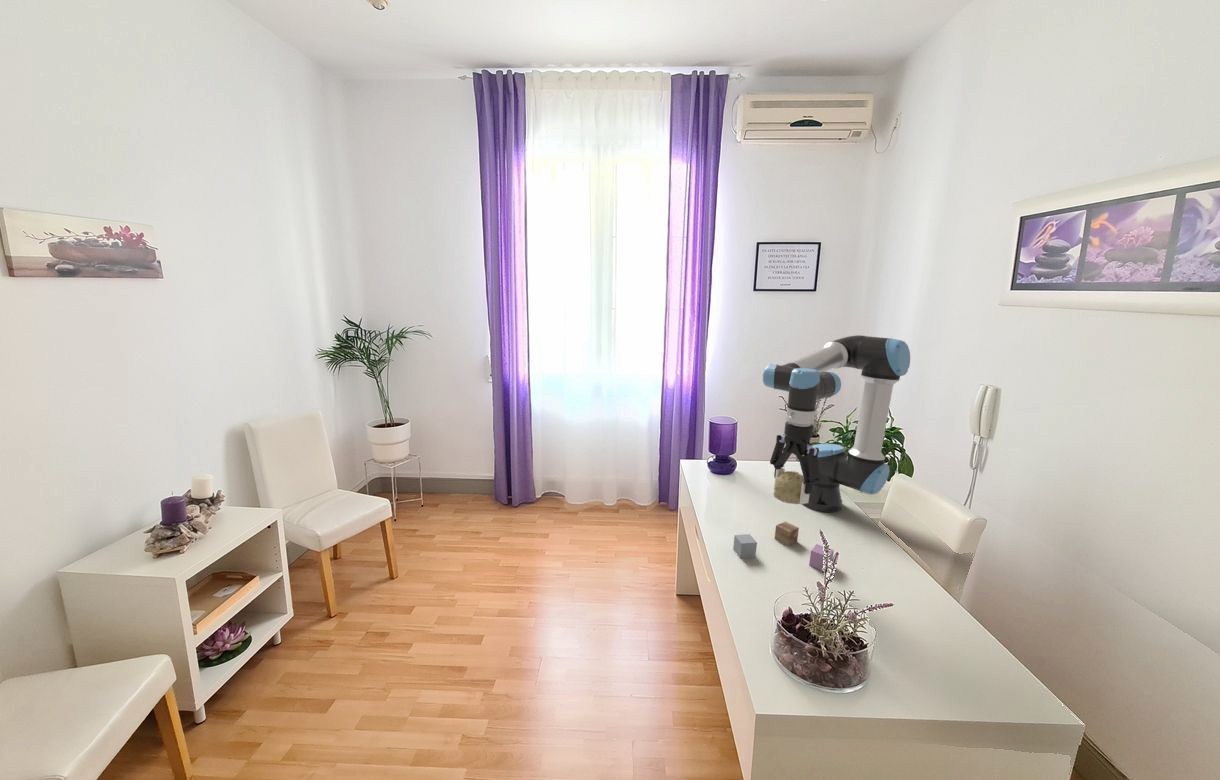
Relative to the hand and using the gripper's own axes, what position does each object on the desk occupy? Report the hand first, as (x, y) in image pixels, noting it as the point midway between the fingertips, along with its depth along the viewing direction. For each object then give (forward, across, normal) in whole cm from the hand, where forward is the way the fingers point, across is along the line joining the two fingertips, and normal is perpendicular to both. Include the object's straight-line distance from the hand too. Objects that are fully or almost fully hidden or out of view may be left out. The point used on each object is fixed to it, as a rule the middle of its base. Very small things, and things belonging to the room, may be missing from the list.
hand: (790, 495), depth 145 cm
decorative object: (+1, 0, 0) cm, 1 cm away
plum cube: (+21, +7, +8) cm, 23 cm away
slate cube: (+21, -7, -9) cm, 24 cm away
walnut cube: (+21, -8, +9) cm, 24 cm away
